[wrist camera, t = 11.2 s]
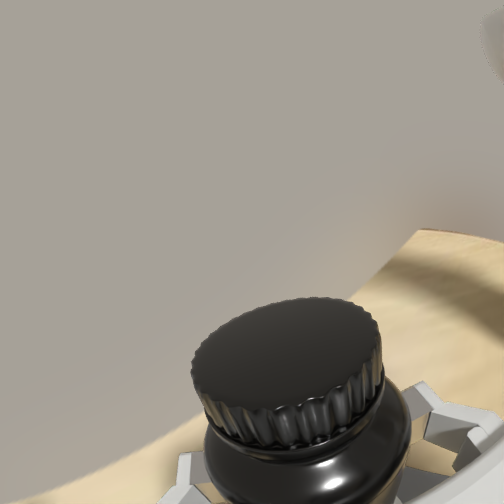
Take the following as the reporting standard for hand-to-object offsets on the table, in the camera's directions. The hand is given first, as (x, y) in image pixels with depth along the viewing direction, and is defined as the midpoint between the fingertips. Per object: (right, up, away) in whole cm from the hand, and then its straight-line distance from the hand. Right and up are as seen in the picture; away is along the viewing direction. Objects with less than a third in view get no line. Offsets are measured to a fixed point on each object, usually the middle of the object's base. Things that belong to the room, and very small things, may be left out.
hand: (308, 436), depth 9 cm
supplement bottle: (+2, -7, +1) cm, 7 cm away
